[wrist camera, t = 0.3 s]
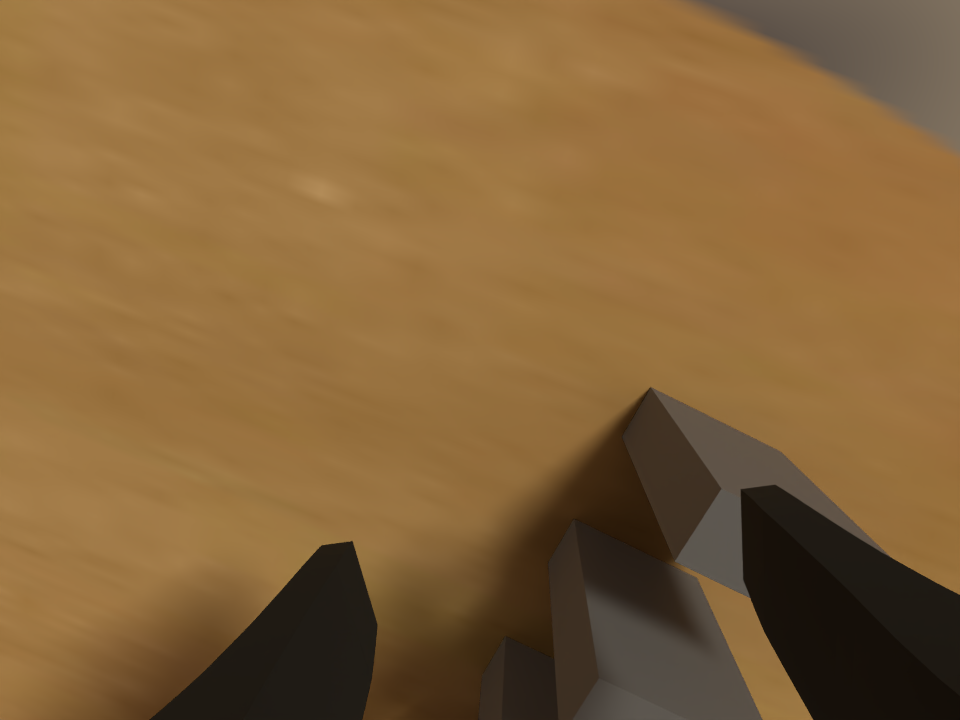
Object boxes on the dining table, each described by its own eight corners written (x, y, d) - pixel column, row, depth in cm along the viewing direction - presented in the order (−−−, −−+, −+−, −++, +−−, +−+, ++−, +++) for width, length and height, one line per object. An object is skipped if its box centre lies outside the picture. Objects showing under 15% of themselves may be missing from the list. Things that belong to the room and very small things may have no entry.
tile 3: (668, 620, 24) (738, 822, 16) (548, 562, 24) (559, 738, 16) (696, 578, 23) (783, 764, 16) (573, 518, 23) (599, 678, 15)
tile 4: (748, 499, 22) (867, 654, 15) (621, 436, 22) (674, 561, 14) (780, 451, 22) (920, 585, 14) (650, 387, 22) (721, 488, 14)
